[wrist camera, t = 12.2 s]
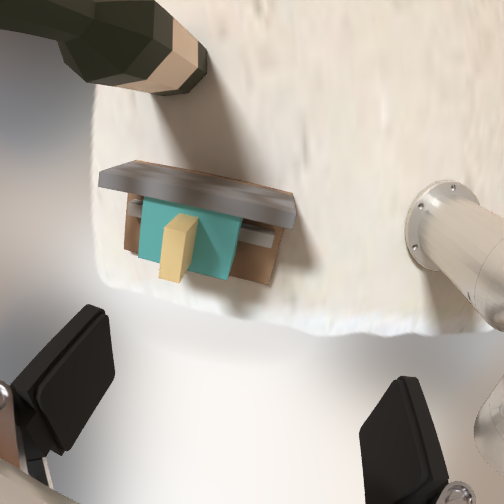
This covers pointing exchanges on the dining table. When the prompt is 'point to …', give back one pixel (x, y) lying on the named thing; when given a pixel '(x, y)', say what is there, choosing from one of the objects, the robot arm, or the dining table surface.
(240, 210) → the wall board
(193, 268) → the teal block
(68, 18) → the wine bottle
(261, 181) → the dining table surface
